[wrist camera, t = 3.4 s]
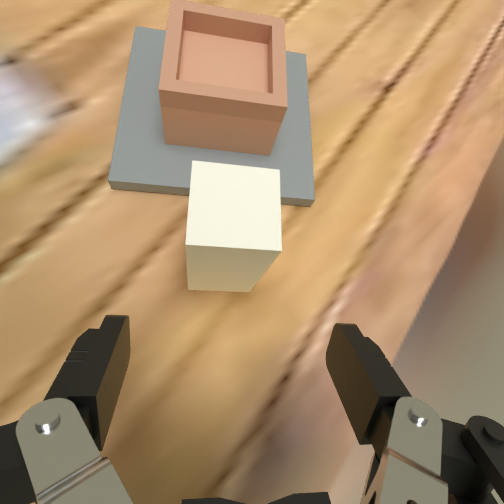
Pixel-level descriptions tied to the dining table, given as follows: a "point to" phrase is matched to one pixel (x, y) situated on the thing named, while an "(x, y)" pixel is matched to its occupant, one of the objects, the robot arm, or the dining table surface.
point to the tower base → (213, 102)
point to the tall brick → (231, 226)
